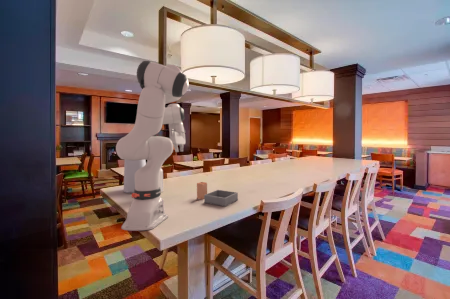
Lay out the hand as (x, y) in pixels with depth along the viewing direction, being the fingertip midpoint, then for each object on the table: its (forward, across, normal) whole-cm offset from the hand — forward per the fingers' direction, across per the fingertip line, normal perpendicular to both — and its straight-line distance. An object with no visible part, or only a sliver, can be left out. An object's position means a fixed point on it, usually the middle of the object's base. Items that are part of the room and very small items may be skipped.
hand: (179, 151), depth 145 cm
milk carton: (+25, +11, +24) cm, 37 cm away
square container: (+31, -1, -11) cm, 32 cm away
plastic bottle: (+23, +14, +40) cm, 48 cm away
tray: (+33, -6, -23) cm, 41 cm away
